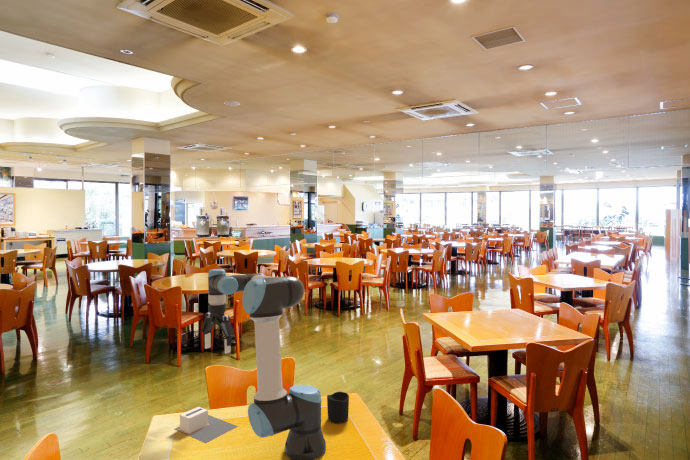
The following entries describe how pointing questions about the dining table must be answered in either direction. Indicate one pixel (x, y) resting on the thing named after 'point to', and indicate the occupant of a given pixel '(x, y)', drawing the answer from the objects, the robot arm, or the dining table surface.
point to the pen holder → (338, 407)
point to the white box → (193, 419)
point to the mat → (210, 430)
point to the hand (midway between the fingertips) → (217, 350)
